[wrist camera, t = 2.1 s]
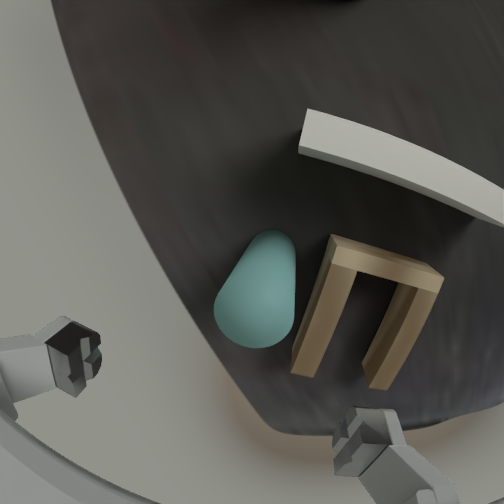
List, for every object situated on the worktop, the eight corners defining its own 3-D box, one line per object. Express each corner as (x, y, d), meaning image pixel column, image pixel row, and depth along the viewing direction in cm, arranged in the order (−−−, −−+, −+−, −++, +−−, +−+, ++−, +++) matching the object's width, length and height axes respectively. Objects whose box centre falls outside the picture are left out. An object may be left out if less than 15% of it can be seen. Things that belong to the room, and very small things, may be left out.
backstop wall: (481, 195, 18) (529, 206, 12) (475, 217, 19) (522, 234, 13) (304, 127, 19) (307, 108, 13) (297, 153, 20) (298, 145, 14)
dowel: (301, 237, 22) (304, 289, 12) (288, 280, 23) (281, 356, 13) (254, 224, 22) (221, 266, 12) (244, 268, 23) (207, 335, 13)
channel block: (426, 262, 20) (444, 277, 17) (378, 365, 23) (387, 390, 20) (330, 233, 21) (337, 245, 18) (292, 347, 24) (290, 372, 21)
